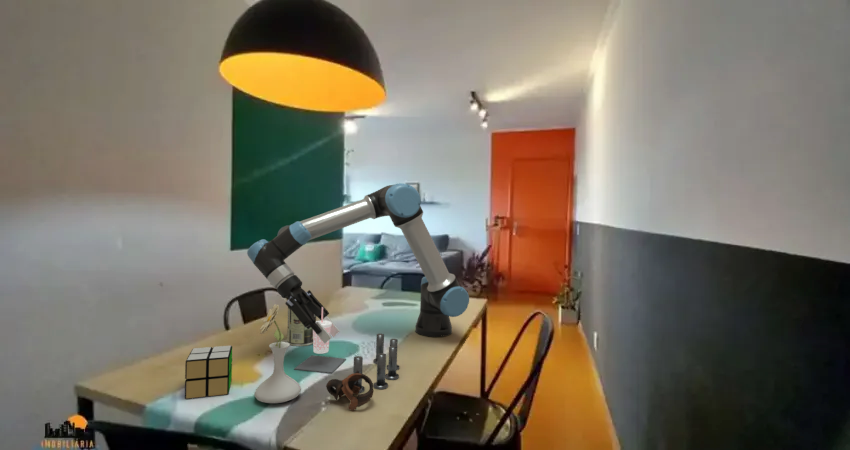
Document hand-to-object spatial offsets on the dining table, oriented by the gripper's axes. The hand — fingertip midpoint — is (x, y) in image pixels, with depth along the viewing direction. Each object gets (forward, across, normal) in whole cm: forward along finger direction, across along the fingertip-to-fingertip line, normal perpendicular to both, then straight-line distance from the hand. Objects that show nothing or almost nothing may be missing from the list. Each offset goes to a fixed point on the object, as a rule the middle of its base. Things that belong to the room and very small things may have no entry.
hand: (332, 337), depth 130 cm
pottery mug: (+16, +22, +3) cm, 28 cm away
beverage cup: (+1, 0, -6) cm, 6 cm away
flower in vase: (+3, +25, -10) cm, 27 cm away
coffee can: (-7, -19, -20) cm, 29 cm away
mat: (+4, 0, -9) cm, 10 cm away
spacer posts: (+18, +4, +6) cm, 20 cm away
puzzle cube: (-11, +24, -24) cm, 36 cm away
